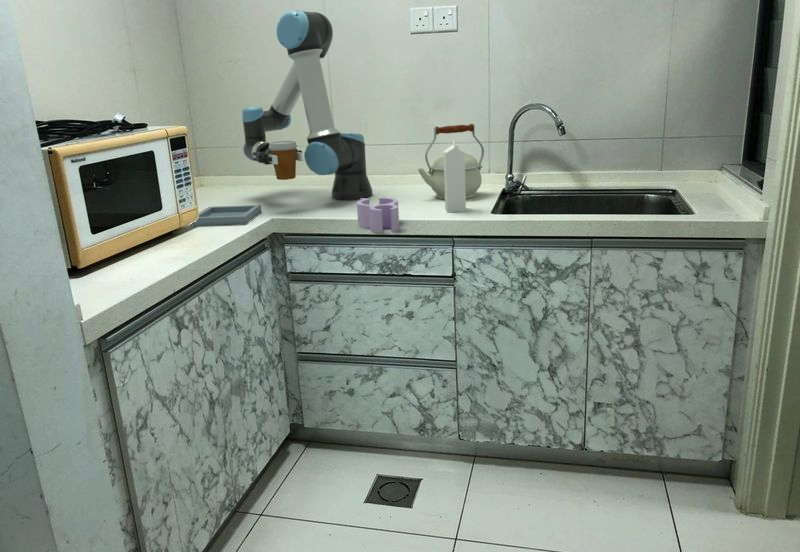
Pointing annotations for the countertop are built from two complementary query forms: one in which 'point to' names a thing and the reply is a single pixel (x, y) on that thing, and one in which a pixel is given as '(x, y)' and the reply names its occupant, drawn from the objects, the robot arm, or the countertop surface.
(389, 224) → the clip
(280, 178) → the disposable coffee cup
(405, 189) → the countertop surface
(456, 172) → the milk
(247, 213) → the tray
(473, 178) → the kettle
